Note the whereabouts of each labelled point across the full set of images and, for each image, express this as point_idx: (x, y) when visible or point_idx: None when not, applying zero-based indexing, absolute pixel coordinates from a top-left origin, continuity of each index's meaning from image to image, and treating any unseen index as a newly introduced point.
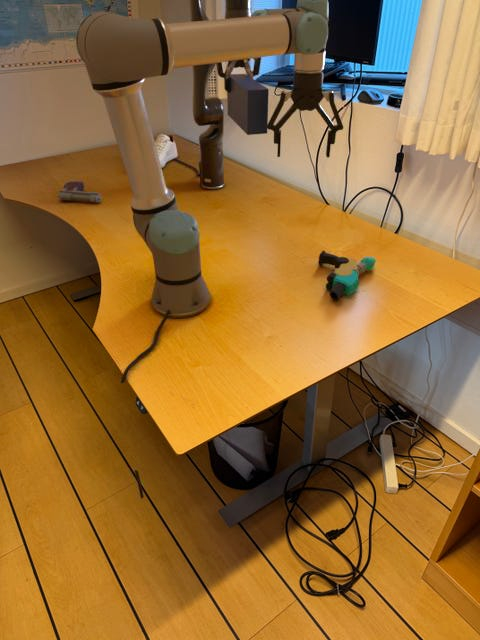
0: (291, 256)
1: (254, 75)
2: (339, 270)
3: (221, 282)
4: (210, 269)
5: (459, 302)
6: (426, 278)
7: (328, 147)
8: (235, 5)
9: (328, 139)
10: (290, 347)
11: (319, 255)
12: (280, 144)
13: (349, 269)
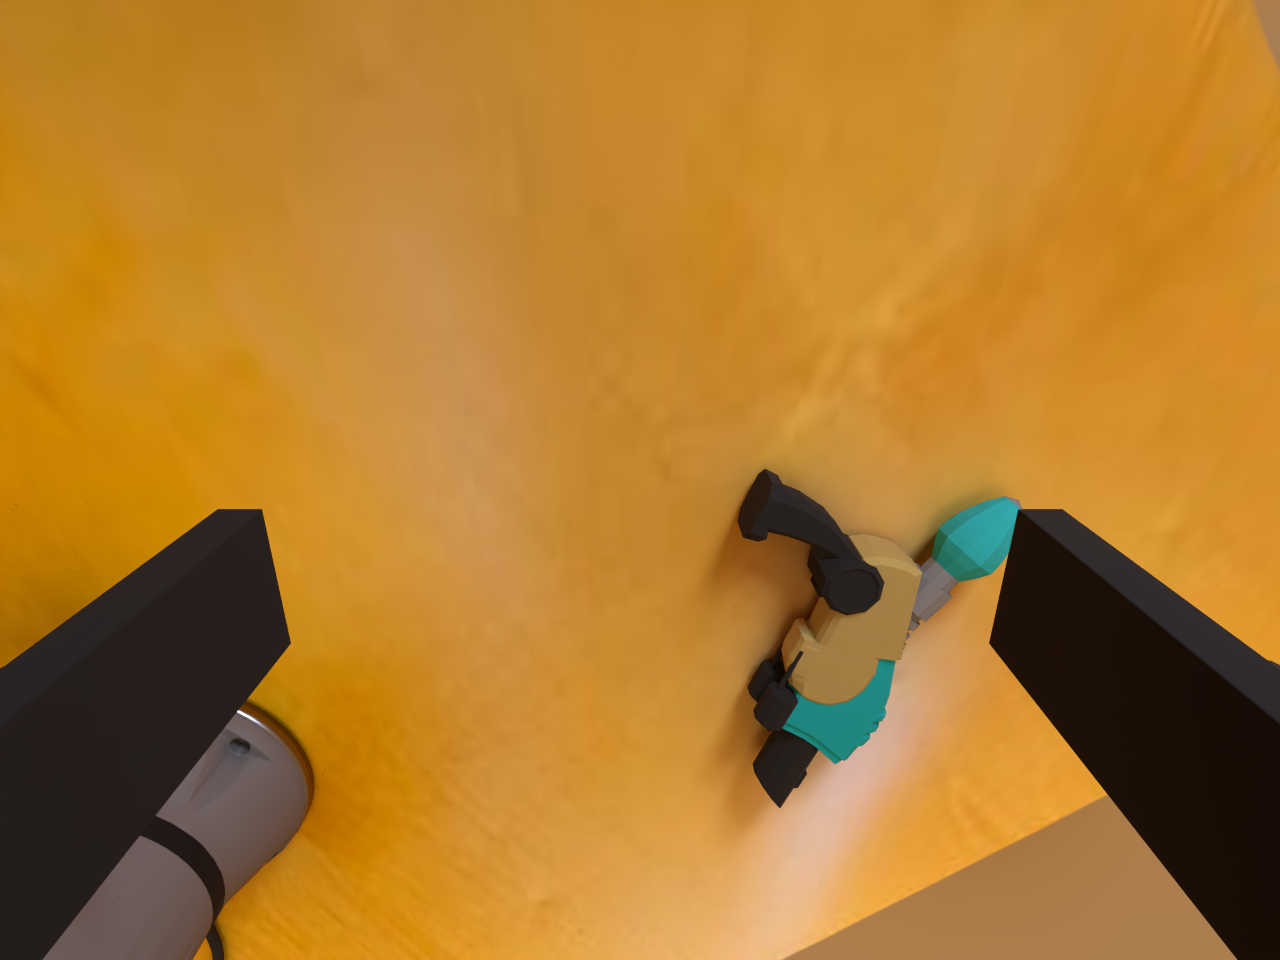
0: (608, 413)
1: None
2: (819, 668)
3: (316, 648)
4: None
5: None
6: (1201, 577)
7: (1087, 748)
8: None
9: (1173, 872)
10: (608, 934)
11: (746, 536)
12: (180, 782)
13: (866, 658)
